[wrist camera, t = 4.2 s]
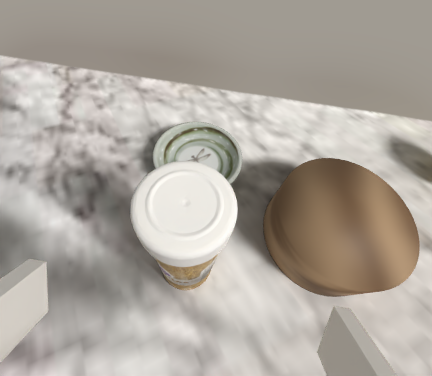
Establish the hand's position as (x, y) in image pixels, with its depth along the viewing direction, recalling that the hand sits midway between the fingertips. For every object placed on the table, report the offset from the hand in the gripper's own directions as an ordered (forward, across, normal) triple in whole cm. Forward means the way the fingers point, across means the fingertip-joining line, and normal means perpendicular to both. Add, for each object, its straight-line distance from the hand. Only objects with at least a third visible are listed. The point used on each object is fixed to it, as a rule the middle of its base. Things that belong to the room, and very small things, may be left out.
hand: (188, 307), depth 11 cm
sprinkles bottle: (+10, -1, -5) cm, 11 cm away
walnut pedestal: (+13, +12, -1) cm, 18 cm away
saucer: (+18, -2, +3) cm, 18 cm away
